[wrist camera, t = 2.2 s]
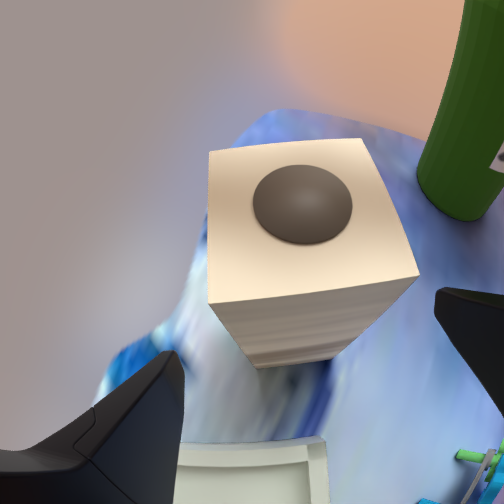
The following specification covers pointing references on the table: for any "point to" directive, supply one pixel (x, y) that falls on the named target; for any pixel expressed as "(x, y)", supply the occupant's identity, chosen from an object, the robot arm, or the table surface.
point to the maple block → (302, 248)
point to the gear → (494, 476)
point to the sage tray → (253, 472)
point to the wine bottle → (469, 120)
